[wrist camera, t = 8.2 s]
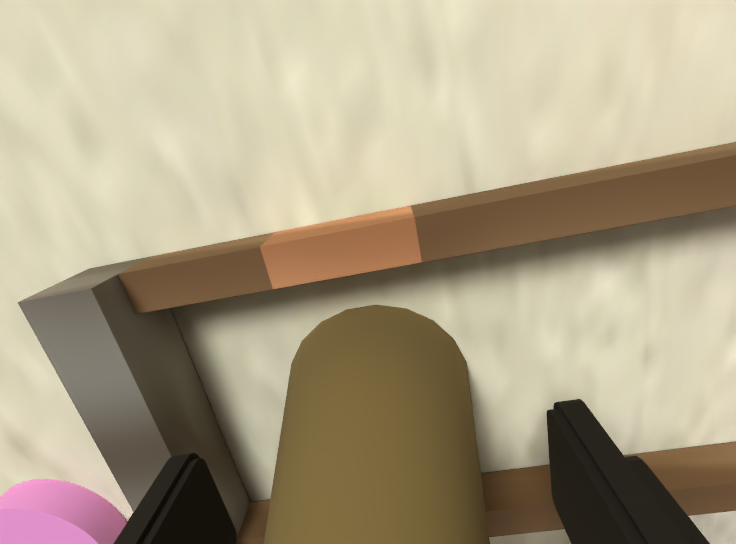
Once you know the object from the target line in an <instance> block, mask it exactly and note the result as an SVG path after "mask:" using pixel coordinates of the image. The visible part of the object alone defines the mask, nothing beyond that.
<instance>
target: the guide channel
mask: <svg viewBox="0 0 736 544" xmlns="http://www.w3.org/2000/svg"><path fill="white" fill-rule="evenodd" d="M731 206H736V142H734V143H729V144H723V145H718V146H713V147H708V148H703V149H698V150H693V151H688V152H683V153H678V154H672V155H667V156H662V157H657V158H652V159H647V160H642V161H637V162H632V163H627V164H621V165H616V166H611V167H606V168H601V169H596V170H591V171H586V172H581V173H575V174H570V175H565V176H560V177H555V178H550V179H545V180H540V181H535V182H530V183H524V184H519V185H514V186H509V187H504V188H499V189H494V190H489V191H484V192H478V193H473V194H468V195H463V196H458V197H453V198H448V199H443V200H438V201H433V202H427V203H422V204H417V205H412V206H407V207H402V208H397V209H392V210H387V211H382V212H376V213H371V214H366V215H361V216H356V217H351V218H346V219H341V220H336V221H330V222H325V223H320V224H315V225H310V226H305V227H300V228H295V229H290V230H285V231H279V232H274V233H269V234H264V235H259V236H254V237H249V238H244V239H239V240H233V241H228V242H223V243H218V244H213V245H208V246H203V247H198V248H193V249H188V250H182V251H177V252H172V253H167V254H162V255H157V256H152V257H147V258H142V259H136V260H131V261H126V262H121V263H116V264H111V265H106V266H101V267H96V268H91V269H88V270H85V271H83V272H81V273H79V274H77V275H75V276H73V277H71V278H69V279H66V280H64V281H62V282H60V283H58V284H56V285H54V286H52V287H49V288H47V289H45V290H43V291H41V292H39V293H37V294H35V295H33V296H30V297H28V298H26V299H24V300H22V301H20V302H18V304H19V306H20V308H21V309H22V311H23V313H24V315H25V317H26V318H27V320H28V322H29V324H30V326H31V327H32V329H33V331H34V333H35V335H36V336H37V338H38V340H39V342H40V344H41V345H42V347H43V349H44V351H45V353H46V354H47V356H48V358H49V360H50V362H51V363H52V365H53V367H54V369H55V371H56V373H57V374H58V376H59V378H60V380H61V382H62V383H63V385H64V387H65V389H66V391H67V392H68V394H69V396H70V398H71V400H72V401H73V403H74V405H75V407H76V409H77V410H78V412H79V414H80V416H81V418H82V419H83V421H84V423H85V425H86V427H87V429H88V430H89V432H90V434H91V436H92V438H93V439H94V441H95V443H96V445H97V447H98V448H99V450H100V452H101V454H102V456H103V457H104V459H105V461H106V463H107V465H108V466H109V468H110V470H111V472H112V474H113V475H114V477H115V479H116V481H117V483H118V484H119V486H120V488H121V490H122V492H123V494H124V495H125V497H126V499H127V501H128V503H129V504H130V506H131V508H132V510H133V512H134V511H135V510H136V508H137V507H138V505H139V503H140V502H141V500H142V499H143V497H144V496H145V494H146V493H147V491H148V490H149V488H150V487H151V485H152V483H153V482H154V480H155V479H156V477H157V476H158V474H159V473H160V471H161V470H162V468H163V467H164V465H165V463H166V462H167V461H168V459H169V458H170V457H172V456H175V455H182V454H190V453H196V454H197V455H198V456H199V457H200V458H203V459H204V460H205V461H206V464H207V466H208V468H209V470H210V473H211V475H212V477H213V479H214V482H215V484H216V486H217V488H218V491H219V493H220V495H221V498H222V500H223V502H224V504H225V507H226V509H227V511H228V513H229V516H230V518H231V520H232V522H233V525H234V527H235V529H236V533H237V541H236V544H264V538H265V532H266V526H267V519H268V513H269V506H270V500H263V501H255V502H250V501H249V498H248V496H247V494H246V491H245V489H244V486H243V484H242V481H241V479H240V477H239V474H238V472H237V469H236V467H235V465H234V462H233V460H232V457H231V455H230V452H229V450H228V448H227V445H226V443H225V440H224V438H223V435H222V433H221V431H220V428H219V426H218V423H217V421H216V418H215V416H214V414H213V411H212V409H211V406H210V404H209V401H208V399H207V397H206V394H205V392H204V389H203V387H202V384H201V382H200V380H199V377H198V375H197V372H196V370H195V368H194V365H193V363H192V360H191V358H190V355H189V353H188V351H187V348H186V346H185V343H184V341H183V338H182V336H181V334H180V331H179V329H178V326H177V324H176V321H175V319H174V317H173V314H172V312H171V309H170V308H172V307H177V306H183V305H189V304H194V303H200V302H205V301H211V300H216V299H222V298H227V297H233V296H238V295H244V294H249V293H255V292H261V291H266V290H272V289H277V288H283V287H288V286H294V285H299V284H305V283H310V282H316V281H321V280H327V279H332V278H338V277H344V276H349V275H355V274H360V273H366V272H371V271H377V270H382V269H388V268H393V267H399V266H404V265H410V264H415V263H421V262H427V261H432V260H438V259H443V258H449V257H454V256H460V255H465V254H471V253H476V252H482V251H487V250H493V249H498V248H504V247H510V246H515V245H521V244H526V243H532V242H537V241H543V240H548V239H554V238H559V237H565V236H570V235H576V234H581V233H587V232H593V231H598V230H604V229H609V228H615V227H620V226H626V225H631V224H637V223H642V222H648V221H653V220H659V219H664V218H670V217H676V216H681V215H687V214H692V213H698V212H703V211H709V210H714V209H720V208H725V207H731ZM627 456H638V457H639V458H641V459H642V460H643V461H644V462H645V463H646V464H647V465H648V466H649V468H650V469H651V470H652V471H653V473H654V474H655V475H656V476H657V478H658V479H659V480H660V481H661V483H662V484H663V485H664V487H665V488H666V489H667V490H668V492H669V493H670V494H671V495H672V497H673V498H674V499H675V500H676V502H677V503H678V504H679V505H680V507H681V508H682V509H683V510H684V512H685V513H686V514H687V516H690V515H699V514H708V513H717V512H727V511H736V442H730V443H722V444H714V445H706V446H698V447H690V448H682V449H673V450H665V451H657V452H649V453H641V454H633V455H625V456H624V457H627ZM481 480H482V487H483V495H484V503H485V510H486V518H487V525H488V533H489V537H495V536H504V535H513V534H522V533H532V532H541V531H550V530H560V529H565V528H564V526H563V524H562V522H561V519H560V517H559V515H558V513H557V510H556V508H555V505H554V502H553V498H552V492H551V476H550V465H545V466H537V467H528V468H520V469H512V470H504V471H496V472H488V473H481Z"/></svg>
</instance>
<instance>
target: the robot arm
mask: <svg viewBox="0 0 736 544" xmlns="http://www.w3.org/2000/svg"><path fill="white" fill-rule="evenodd" d="M547 427H548V443H549V459H550V476H551V492H552V498H553V502H554V505H555V508H556V510H557V513H558V515H559V517H560V519H561V522H562V524H563V526H564V528H565V530H566V532H567V535H568V537H569V539H570V541H571V543H572V544H710V543H709V542H708V541H707V540H706V538H705V537H704V536H703V534H702V533H701V532H700V531H699V529H698V528H697V527H696V526H695V524H694V523H693V522H692V521H691V519H690V518H689V517H688V516H687V514H686V513H685V512H684V510H683V509H682V508H681V507H680V505H679V504H678V503H677V502H676V500H675V499H674V498H673V497H672V495H671V494H670V493H669V492H668V490H667V489H666V488H665V487H664V485H663V484H662V483H661V481H660V480H659V479H658V478H657V476H656V475H655V474H654V473H653V471H652V470H651V469H650V468H649V466H648V465H647V464H646V463H645V462H644V461H643V460H642V459H641V458H639V457H638V456H627V457H624V456H623V454H622V453H621V452H620V450H619V449H618V448H617V446H616V445H615V444H614V442H613V441H612V440H611V438H610V437H609V435H608V434H607V433H606V431H605V430H604V429H603V427H602V426H601V425H600V423H599V422H598V421H597V419H596V418H595V417H594V415H593V414H592V413H591V411H590V410H589V409H588V407H587V406H586V404H585V403H584V402H583V401H582V400H580V399H576V400H569V401H562V402H556V403H554V409H553V410H547ZM236 541H237V533H236V529H235V527H234V525H233V522H232V520H231V518H230V516H229V513H228V511H227V509H226V507H225V504H224V502H223V500H222V498H221V495H220V493H219V491H218V488H217V486H216V484H215V482H214V479H213V477H212V475H211V473H210V470H209V468H208V466H207V464H206V461H205V460H204V459H203V458H200V457H199V456H198V455H197V454H196V453H190V454H182V455H175V456H172V457H170V458H169V459H168V461H167V462H166V463H165V465H164V467H163V468H162V470H161V471H160V473H159V474H158V476H157V477H156V479H155V480H154V482H153V483H152V485H151V487H150V488H149V490H148V491H147V493H146V494H145V496H144V497H143V499H142V500H141V502H140V503H139V505H138V507H137V508H136V510H135V511H134V513H133V514H132V516H131V517H130V519H129V520H128V522H127V523H126V525H125V527H124V528H123V530H122V531H121V533H120V534H119V536H118V537H117V539H116V540H115V542H114V543H113V544H236Z"/></svg>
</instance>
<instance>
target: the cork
mask: <svg viewBox="0 0 736 544" xmlns="http://www.w3.org/2000/svg"><path fill="white" fill-rule="evenodd" d="M264 544H490V541H489V533H488V525H487V518H486V510H485V503H484V495H483V487H482V480H481V472H480V464H479V457H478V449H477V441H476V434H475V426H474V419H473V411H472V403H471V396H470V388H469V380H468V373H467V365H466V361H465V359H464V357H463V355H462V353H461V351H460V350H459V348H458V346H457V344H456V342H455V340H454V339H453V338H452V337H451V336H450V335H449V334H448V333H447V332H445V331H444V330H443V329H442V328H441V327H440V326H439V325H438V324H436V323H435V322H434V321H433V320H431V319H428V318H426V317H424V316H422V315H419V314H417V313H415V312H413V311H410V310H408V309H405V308H397V307H389V306H381V305H372V306H366V307H360V308H354V309H348V310H345V311H343V312H341V313H339V314H337V315H335V316H333V317H331V318H329V319H327V320H325V321H323V322H321V323H320V324H319V325H318V326H317V327H316V328H315V329H314V330H313V331H312V332H311V333H310V334H309V335H308V336H307V337H306V338H305V339H304V340H303V341H302V342H301V344H300V347H299V349H298V351H297V353H296V355H295V357H294V359H293V362H292V364H291V370H290V377H289V383H288V390H287V396H286V403H285V409H284V416H283V422H282V429H281V435H280V442H279V448H278V454H277V461H276V467H275V474H274V480H273V487H272V493H271V500H270V506H269V513H268V519H267V526H266V532H265V538H264Z"/></svg>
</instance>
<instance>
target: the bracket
mask: <svg viewBox="0 0 736 544" xmlns="http://www.w3.org/2000/svg"><path fill="white" fill-rule="evenodd" d="M126 523H127V521H126V520H125V518H124V517H123V516H122V514H121V513H120V512H119V511H118V510H117V509H116V508H115V507H114V506H113V505H112V504H111V503H110V502H108V501H107V500H106V499H104V498H103V497H101V496H100V495H98V494H96V493H94V492H93V491H91V490H88V489H86V488H84V487H81V486H79V485H76V484H72V483H69V482H65V481H59V480H51V479H37V480H30V481H25V482H22V483H19V484H17V485H15V486H13V487H11V488H10V489H8V490H7V491H6V492H5V493H4V494H3V495H2V496H1V497H0V544H113V543H114V542H115V540H116V539H117V537H118V536H119V534H120V533H121V531H122V530H123V528H124V527H125V525H126Z"/></svg>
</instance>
